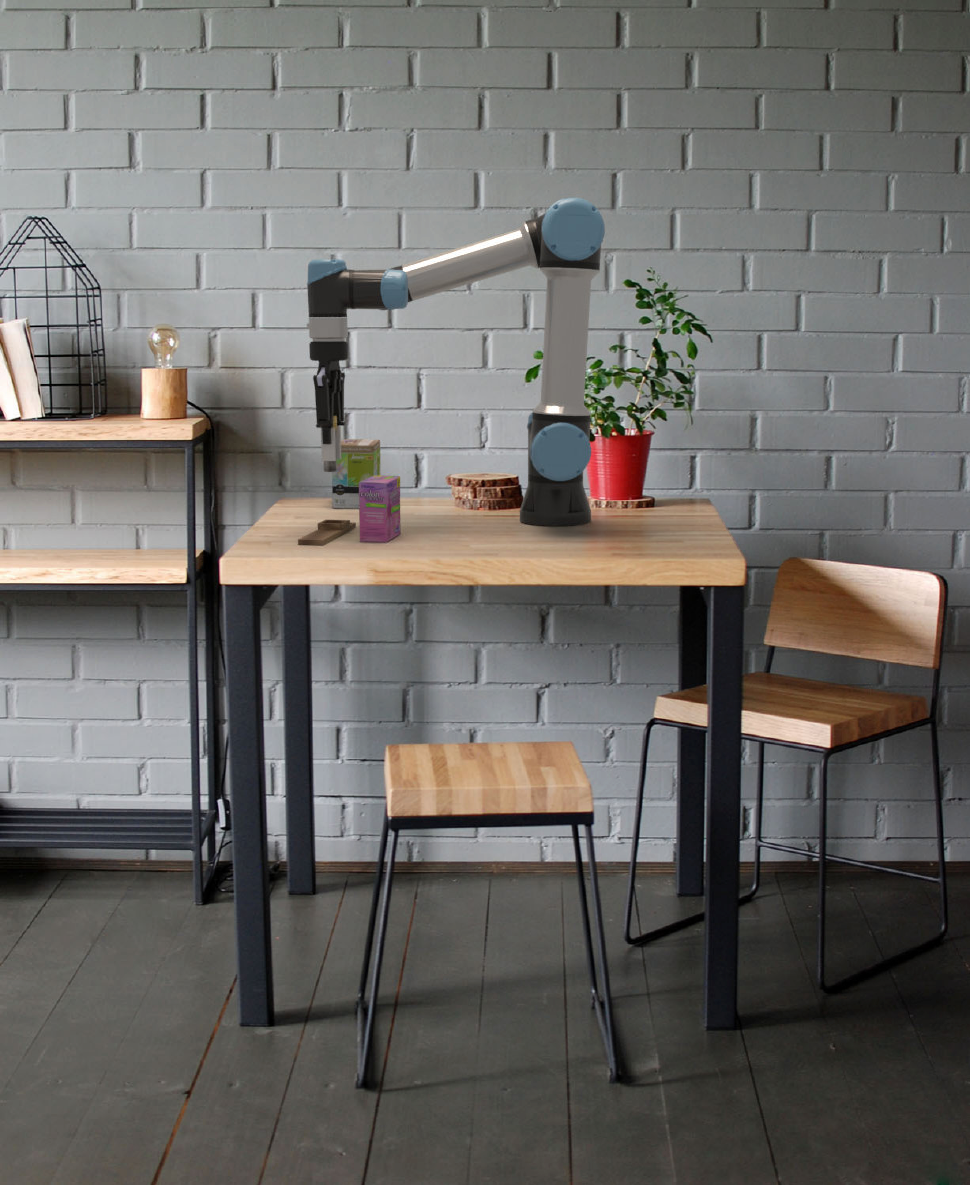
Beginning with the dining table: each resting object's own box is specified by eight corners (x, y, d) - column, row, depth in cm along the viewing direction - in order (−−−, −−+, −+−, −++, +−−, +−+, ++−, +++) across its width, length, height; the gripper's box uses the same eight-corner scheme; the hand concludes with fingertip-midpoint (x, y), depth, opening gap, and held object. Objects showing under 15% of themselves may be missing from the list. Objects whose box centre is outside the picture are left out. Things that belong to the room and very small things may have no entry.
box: (387, 543, 255) (386, 482, 253) (359, 542, 256) (357, 481, 254) (401, 534, 265) (400, 475, 263) (374, 533, 266) (373, 475, 264)
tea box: (375, 509, 300) (374, 443, 297) (331, 509, 300) (329, 444, 297) (381, 500, 315) (380, 437, 312) (339, 500, 315) (337, 437, 312)
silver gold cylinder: (339, 470, 267) (338, 415, 264) (335, 472, 264) (334, 416, 261) (325, 469, 267) (324, 414, 265) (320, 471, 264) (319, 416, 262)
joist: (356, 527, 274) (356, 516, 273) (323, 545, 253) (323, 534, 252) (332, 526, 275) (332, 516, 274) (297, 544, 254) (297, 533, 253)
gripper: (322, 339, 268) (325, 455, 273) (296, 341, 253) (300, 463, 258) (358, 339, 267) (360, 455, 272) (334, 341, 251) (337, 464, 256)
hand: (331, 459), depth 265 cm, fingers closed on silver gold cylinder, 3 cm apart
